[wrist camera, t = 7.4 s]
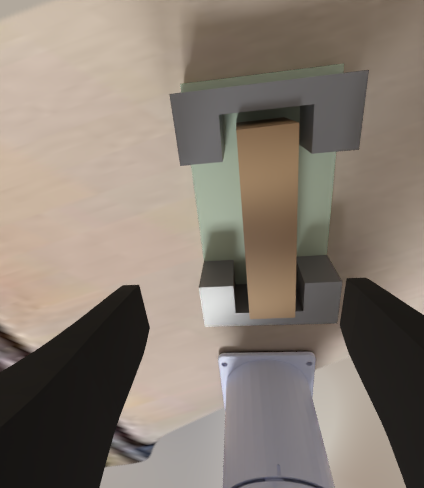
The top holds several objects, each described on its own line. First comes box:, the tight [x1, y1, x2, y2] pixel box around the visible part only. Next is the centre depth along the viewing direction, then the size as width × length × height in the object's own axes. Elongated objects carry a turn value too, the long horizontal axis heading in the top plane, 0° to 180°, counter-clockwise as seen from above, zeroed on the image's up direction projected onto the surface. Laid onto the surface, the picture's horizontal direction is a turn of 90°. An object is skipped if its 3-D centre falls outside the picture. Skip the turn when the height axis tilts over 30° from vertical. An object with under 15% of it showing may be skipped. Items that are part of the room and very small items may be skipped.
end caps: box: [170, 70, 369, 327], centre depth 16 cm, size 13×8×3 cm, turn 6°
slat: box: [236, 117, 299, 319], centre depth 15 cm, size 10×2×4 cm, turn 6°
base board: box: [180, 64, 344, 284], centre depth 18 cm, size 14×8×1 cm, turn 6°
